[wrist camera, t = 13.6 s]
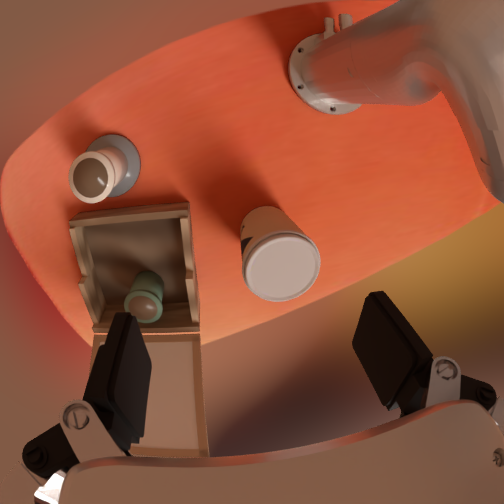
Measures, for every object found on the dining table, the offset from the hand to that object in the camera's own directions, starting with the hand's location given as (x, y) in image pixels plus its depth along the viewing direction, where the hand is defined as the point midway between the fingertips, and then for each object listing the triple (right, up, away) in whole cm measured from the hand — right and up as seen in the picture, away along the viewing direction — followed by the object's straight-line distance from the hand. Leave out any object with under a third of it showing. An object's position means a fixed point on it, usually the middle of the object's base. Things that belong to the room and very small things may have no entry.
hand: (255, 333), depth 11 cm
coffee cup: (+2, +7, +32) cm, 32 cm away
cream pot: (-20, +15, +23) cm, 34 cm away
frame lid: (-16, -17, +23) cm, 32 cm away
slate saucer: (-20, +15, +23) cm, 34 cm away
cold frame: (-18, +2, +31) cm, 36 cm away
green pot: (-17, -2, +32) cm, 36 cm away
